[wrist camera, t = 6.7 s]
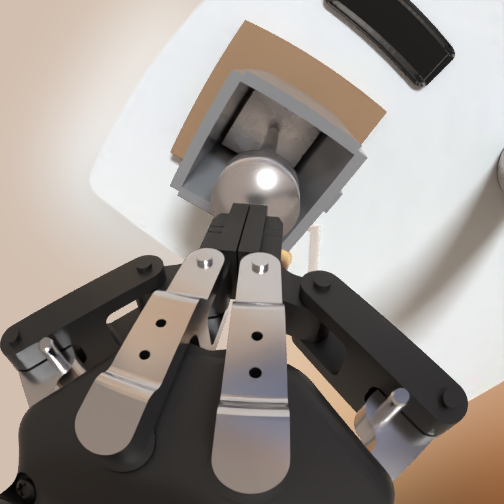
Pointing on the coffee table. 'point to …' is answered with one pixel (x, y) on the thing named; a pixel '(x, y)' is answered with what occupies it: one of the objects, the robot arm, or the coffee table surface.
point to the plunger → (264, 160)
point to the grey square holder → (293, 98)
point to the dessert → (313, 250)
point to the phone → (400, 35)
